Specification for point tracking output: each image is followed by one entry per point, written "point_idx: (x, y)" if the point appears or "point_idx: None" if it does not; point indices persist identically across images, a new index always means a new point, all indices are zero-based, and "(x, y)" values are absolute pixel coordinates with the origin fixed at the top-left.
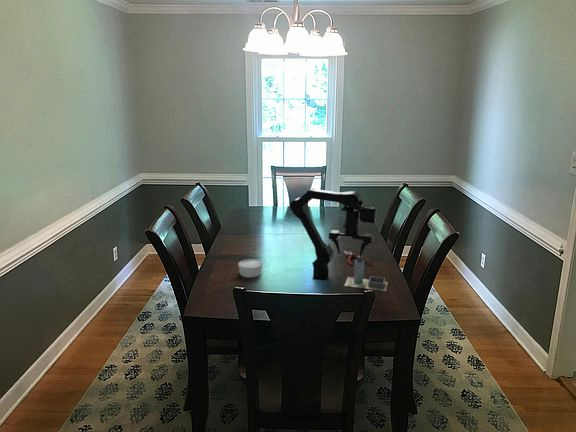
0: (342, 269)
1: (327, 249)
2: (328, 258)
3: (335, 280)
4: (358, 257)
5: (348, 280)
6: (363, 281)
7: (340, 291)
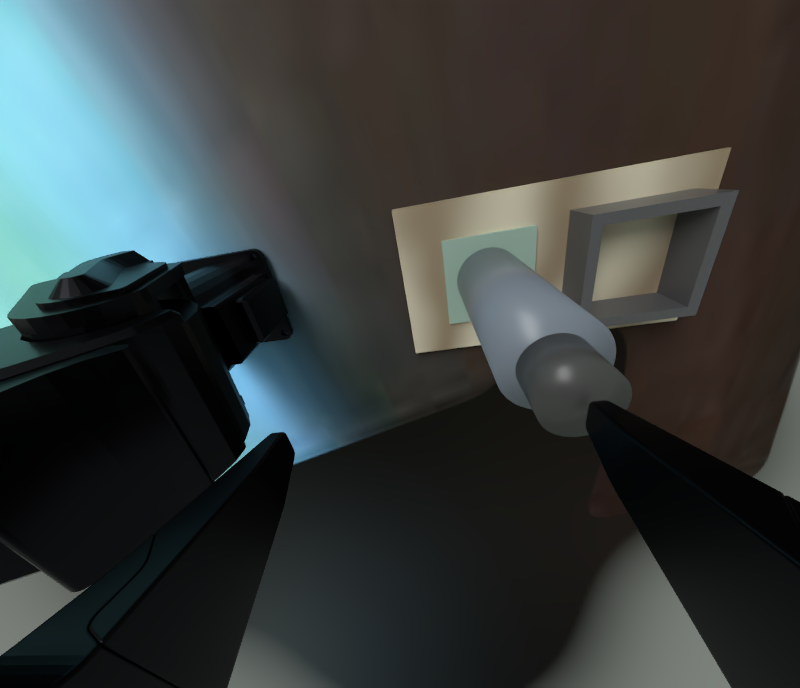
0: (270, 14)
1: (112, 535)
2: (227, 465)
3: (336, 296)
4: (559, 433)
5: (415, 272)
6: (523, 252)
7: (417, 406)
